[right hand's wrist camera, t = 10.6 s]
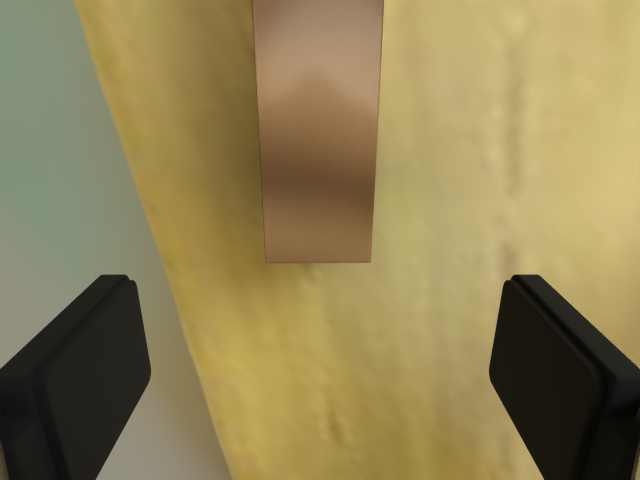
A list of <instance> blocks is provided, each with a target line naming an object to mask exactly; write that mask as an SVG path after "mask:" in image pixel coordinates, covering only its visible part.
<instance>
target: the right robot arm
mask: <svg viewBox="0 0 640 480" xmlns="http://www.w3.org/2000/svg"><path fill="white" fill-rule="evenodd" d="M150 376H151V366H150V360H149V355H148V349H147V343H146V337H145V331H144V325H143V319H142V314H141V308H140V302H139V296H138V290H137V285H136V283H135V281H133V280H129V278H128V276H127V275H101V276H99V277H98V278H97V279H96V280H95V281H94V282H93V283H92V284H91V285H90V286H89V287H88V288H87V289H85V290H84V291H83V292H82V293H81V294H80V295H79V296H78V297H77V298H76V299H75V300H74V301H73V302H71V303H70V304H69V305H68V306H67V307H66V308H65V309H64V310H63V311H62V312H61V313H60V314H59V315H58V316H57V317H55V318H54V319H53V320H52V321H51V322H50V323H49V324H48V325H47V326H46V327H45V328H44V329H43V330H42V331H40V332H39V333H38V334H37V335H36V336H35V337H34V338H33V339H32V340H31V341H30V342H29V343H28V344H27V345H26V346H25V347H23V348H22V349H21V350H20V351H19V352H18V353H17V354H16V355H15V356H14V357H13V358H12V359H10V360H9V361H8V362H7V363H6V364H5V365H4V366H3V367H2V368H1V369H0V480H96V478H97V476H98V474H99V472H100V471H101V469H102V467H103V465H104V463H105V461H106V460H107V458H108V456H109V454H110V452H111V450H112V449H113V447H114V445H115V443H116V441H117V440H118V438H119V436H120V434H121V432H122V430H123V429H124V427H125V425H126V423H127V421H128V419H129V418H130V416H131V414H132V412H133V410H134V409H135V407H136V405H137V403H138V401H139V399H140V398H141V396H142V394H143V392H144V390H145V389H146V387H147V385H148V383H149V380H150ZM489 376H490V380H491V383H492V385H493V387H494V389H495V390H496V392H497V394H498V396H499V398H500V399H501V401H502V403H503V405H504V407H505V409H506V410H507V412H508V414H509V416H510V418H511V420H512V421H513V423H514V425H515V427H516V429H517V430H518V432H519V434H520V436H521V438H522V440H523V441H524V443H525V445H526V447H527V449H528V451H529V452H530V454H531V456H532V458H533V460H534V461H535V463H536V465H537V467H538V469H539V471H540V472H541V474H542V476H543V478H544V480H640V369H639V368H638V367H637V366H636V365H635V364H634V363H633V362H632V361H631V360H630V359H628V358H627V357H626V356H625V355H624V354H623V353H622V352H621V351H620V350H619V349H618V348H617V347H616V346H615V345H613V344H612V343H611V342H610V341H609V340H608V339H607V338H606V337H605V336H604V335H603V334H602V333H601V332H600V331H598V330H597V329H596V328H595V327H594V326H593V325H592V324H591V323H590V322H589V321H588V320H587V319H586V318H585V317H583V316H582V315H581V314H580V313H579V312H578V311H577V310H576V309H575V308H574V307H573V306H572V305H571V304H570V303H569V302H567V301H566V300H565V299H564V298H563V297H562V296H561V295H560V294H559V293H558V292H557V291H556V290H555V289H554V288H552V287H551V286H550V285H549V284H548V283H547V282H546V281H545V280H544V279H543V278H542V277H541V276H539V275H513V276H512V278H511V280H506V281H505V283H504V285H503V290H502V296H501V302H500V308H499V314H498V319H497V325H496V331H495V337H494V343H493V349H492V355H491V360H490V366H489Z"/></svg>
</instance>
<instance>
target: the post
mask: <svg viewBox="0 0 640 480" xmlns="http://www.w3.org/2000/svg"><path fill="white" fill-rule="evenodd" d="M383 12H384V0H252V16H253V35H254V54H255V72H256V91H257V110H258V128H259V147H260V166H261V184H262V203H263V222H264V240H265V259H266V263H371V251H372V231H373V211H374V191H375V171H376V151H377V131H378V111H379V91H380V72H381V52H382V32H383Z"/></svg>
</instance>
